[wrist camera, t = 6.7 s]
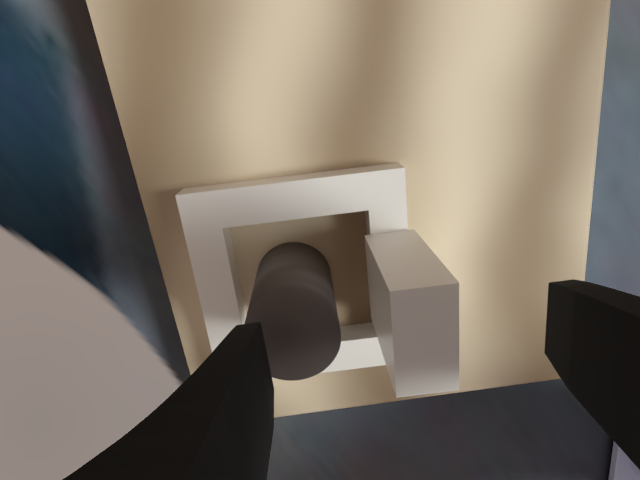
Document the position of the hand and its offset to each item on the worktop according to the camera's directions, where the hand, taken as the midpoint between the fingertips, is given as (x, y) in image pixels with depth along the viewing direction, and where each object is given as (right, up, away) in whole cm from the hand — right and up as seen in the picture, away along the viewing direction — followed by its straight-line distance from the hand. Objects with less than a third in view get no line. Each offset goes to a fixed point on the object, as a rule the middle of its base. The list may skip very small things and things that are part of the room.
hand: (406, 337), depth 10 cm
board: (0, +4, +5) cm, 6 cm away
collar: (-3, +1, +4) cm, 5 cm away
